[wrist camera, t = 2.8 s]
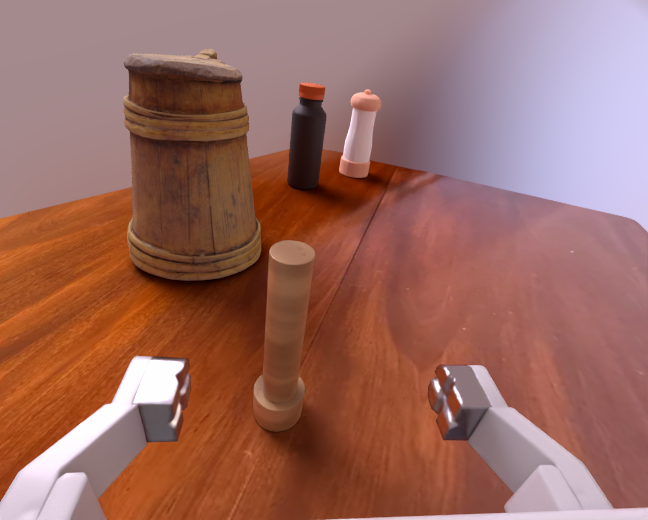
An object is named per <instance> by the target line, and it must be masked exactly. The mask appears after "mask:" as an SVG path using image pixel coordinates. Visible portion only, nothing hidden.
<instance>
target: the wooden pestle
mask: <svg viewBox="0 0 648 520" xmlns="http://www.w3.org/2000/svg"><path fill="white" fill-rule="evenodd" d="M314 261H315V252H314V250H313V249H312V247H310V246H309V245H307V244H305V243H302V242H299V241H290V240H289V241H281V242H278V243H275V244H274V245H273V246H272V247H271V248H270V251H269V267H268V286H267V305H266V324H265V342H264V361H263V374H261V375H260V376H259V377H258V379H257V380H256V382H255V385H254V397H253V414H254V418H255V420H256V421H257V423H258V424H259V425H260V426H261V427H263V428H264V429H267V430H269V431H274V432H279V431H284V430H287V429H289V428H291V427H293V426H294V425H295V424H296V423H297V422H298V420H299V418H300V416H301V412H302V406H303V400H304V393H305V386H304V383H303V381H302V379H301V378H300V376H299V371H300V363H301V356H302V349H303V342H304V334H305V327H306V320H307V312H308V305H309V298H310V291H311V283H312V276H313V269H314Z"/></svg>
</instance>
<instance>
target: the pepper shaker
mask: <svg viewBox="0 0 648 520" xmlns="http://www.w3.org/2000/svg"><path fill="white" fill-rule="evenodd" d="M351 106H352V107H353V111H352V117H351V123H350V128H349V131H348V134H347V137H346V141H345V146H344V153H343V156H342V157H341V162H340V169H339V171H340V173H342V174H343V175H346V176H349V177H354V178H363V177H366V176H367V175H368V170H369V165H370V160H369V158H370V153H371V148H372V133H373V126H374V121H375V116H376V111H378V110H379V109H380V107H381V101H380V98H378V97H377V96H376V95H373V94H371V91H370V90H365V92H364V93H357V94H354V95H353V97H352V98H351Z"/></svg>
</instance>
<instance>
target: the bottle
mask: <svg viewBox="0 0 648 520" xmlns="http://www.w3.org/2000/svg"><path fill="white" fill-rule="evenodd" d="M324 93H325V87H324V86H322V85H318V84H313V83H300V87H299V96H300V97H299V99H300V104H299V105H298V106H297V107H296V108H295V109H294V110H293V114H292V127H291V140H290V153H289V167H288V180H287V181H288V184H289V185H291V186H292V187H294V188H298V189H307V190H308V189H313V188H315V187H317V185H318V180H319V172H320V164H321V156H322V148H323V140H324V132H325V124H326V113H325V112H324V110H323V109H322V107H321V104H322V102H323V99H324Z"/></svg>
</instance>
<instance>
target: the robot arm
mask: <svg viewBox="0 0 648 520" xmlns="http://www.w3.org/2000/svg"><path fill="white" fill-rule="evenodd" d="M188 370H189V359H188V358H171V357H149V356H135V357H134V358H133V359H132V361H131V363H130V365H129V367H128V369H127V371H126V373H125V376H124V378H123V380H122V382H121V384H120V386H119V388H118V390H117V393H116V395H115V397H114V399H113V401H112V403H111V404H105V405H104V406H103V407H101V408H100V409H99V410H97V411H96V412H95V413H94V414H92V415H91V416H90V417H88V418H87V419H86V420H85V421H83V422H82V423H81V424H79V425H78V426H77V427H76V428H74V429H73V430H72V431H71V432H69V433H68V434H67V435H65V436H64V437H63V438H62V439H60V440H59V441H58V442H56V443H55V444H54V445H53V446H51V447H50V448H49V449H47V450H46V451H45V452H44V453H42V454H41V455H40V456H38V457H37V458H36V459H35V460H33V461H32V462H31V463H29V464H28V465H27V466H26V467H24V468H23V469H22V470H21V471H19V472H18V474H17V476H16V477H15V479H14V481H13V482H12V484H11V486H10V487H9V489H8V491H7V492H6V494H5V496H4V497H3V499H2V500H1V502H0V520H106V518H105V515H104V513H103V511H102V509H101V506H100V504H99V502H98V498H99V497H100V496H101V495H102V494H103V493H104V492H105V490H106V489H107V488H108V487H109V486H110V485H111V484H112V483H113V482H114V481H115V479H116V478H117V477H118V476H119V475H120V474H121V473H122V472H123V471H124V469H125V468H126V467H127V466H128V465H129V464H130V463H131V462H132V461H133V459H134V458H135V457H136V456H137V455H138V454H139V453H140V452H141V451H142V449H143V448H144V447H145V446H146V445H147V442H172V441H178V439H179V435H180V431H181V428H182V424H183V412H182V411H183V410H184V409H185V408H186V407H187V405H188V401H189V397H190V390H191V376H190V375H189V374H188ZM435 373H436V376H437V377H435V378H434V379H432V380H431V381H430V384H429V386H428V399H429V403H430V406H431V409H433V410H434V411H435V412H436V413H437V414H438V417H437V420H436V422H437V425H438V427H439V430H440V433H441V435H442V438H443V440H464V441H468V443H469V444H470V445H471V447H472V448H473V449H474V450H475V451H476V452H477V453H478V454H479V455H480V457H481V458H482V459H483V460H484V461H485V462H486V463H487V464H488V465H489V466H490V468H491V469H492V470H493V471H494V472H495V473H496V474H497V475H498V476H499V478H500V479H501V480H502V481H503V482H504V483H505V484H506V485H507V486H508V487H509V489H510V490H511V491H512V492H513V493H514V495H513V496H512V497H511V498H510V499H509V500H508V501H507V502H506V504H505V506H504V509H505V511H506V513H490V514H463V515H435V516H408V517H382V518H355V519H328V520H648V508H625V509H614V508H613V507H612V505H611V504H610V502H609V501H608V499H607V498H606V496H605V495H604V493H603V492H602V490H601V489H600V487H599V486H598V484H597V483H596V481H595V480H594V478H593V477H592V475H591V474H590V472H589V471H588V469H587V468H586V466H585V465H584V463H582V462H581V461H580V460H579V459H577V458H576V457H575V456H573V455H572V454H571V453H570V452H568V451H567V450H566V449H565V448H563V447H562V446H561V445H559V444H558V443H557V442H556V441H554V440H553V439H552V438H550V437H549V436H548V435H547V434H545V433H544V432H543V431H542V430H540V429H539V428H538V427H536V426H535V425H534V424H533V423H531V422H530V421H529V420H528V419H526V418H525V417H524V416H522V415H521V414H520V413H519V412H517V411H516V410H515V409H514V408H508V406H507V404H506V402H505V401H504V399H503V397H502V396H501V394H500V392H499V390H498V389H497V387H496V385H495V383H494V382H493V380H492V378H491V376H490V375H489V373H488V371H487V370H486V368H485V367H484V366H479V365H439V366H438V367H437V368H436V370H435Z"/></svg>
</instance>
